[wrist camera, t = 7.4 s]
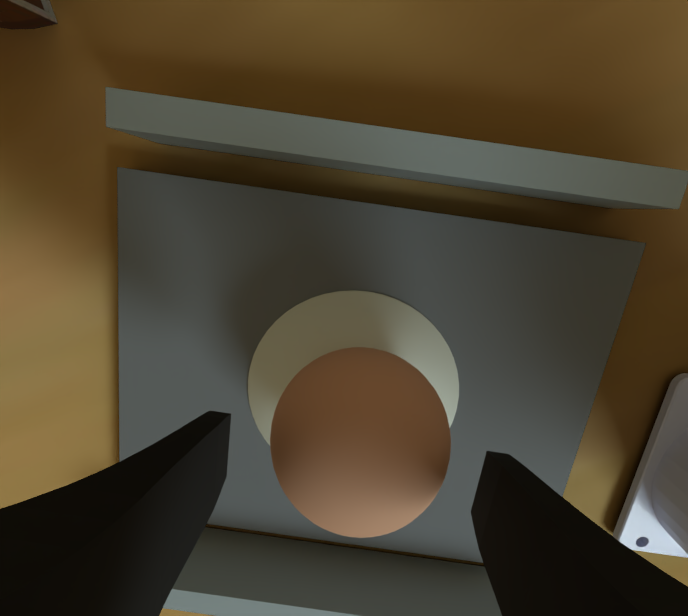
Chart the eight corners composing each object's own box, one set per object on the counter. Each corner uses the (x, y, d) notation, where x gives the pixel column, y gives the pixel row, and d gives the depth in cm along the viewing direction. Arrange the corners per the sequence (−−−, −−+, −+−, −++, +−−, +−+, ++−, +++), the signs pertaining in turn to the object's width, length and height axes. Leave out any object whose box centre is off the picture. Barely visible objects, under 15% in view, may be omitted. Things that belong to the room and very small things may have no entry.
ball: (445, 349, 15) (518, 434, 9) (393, 470, 16) (431, 605, 11) (304, 305, 14) (296, 370, 9) (261, 436, 15) (231, 563, 10)
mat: (630, 241, 14) (648, 243, 13) (529, 554, 18) (538, 572, 17) (130, 169, 14) (115, 166, 13) (130, 498, 18) (118, 513, 17)
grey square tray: (620, 178, 14) (691, 171, 11) (497, 586, 18) (523, 659, 15) (159, 112, 14) (105, 86, 11) (151, 537, 18) (112, 601, 15)
